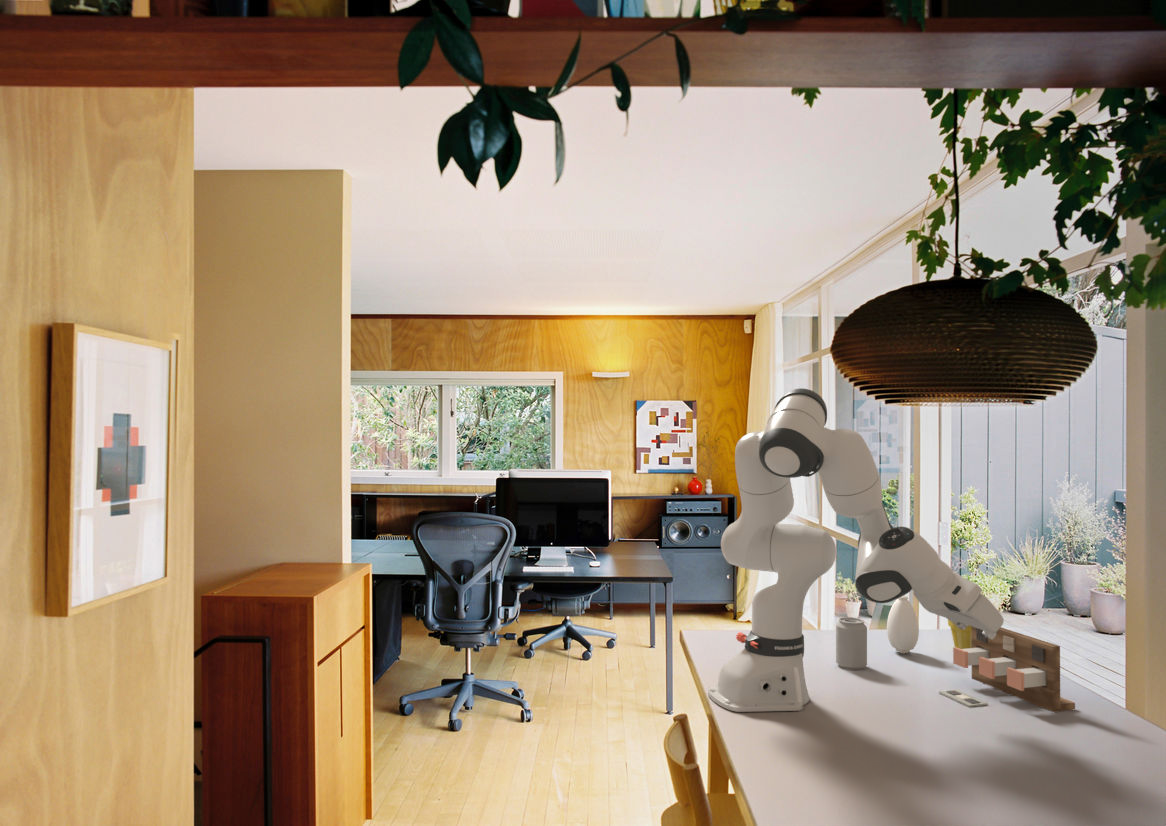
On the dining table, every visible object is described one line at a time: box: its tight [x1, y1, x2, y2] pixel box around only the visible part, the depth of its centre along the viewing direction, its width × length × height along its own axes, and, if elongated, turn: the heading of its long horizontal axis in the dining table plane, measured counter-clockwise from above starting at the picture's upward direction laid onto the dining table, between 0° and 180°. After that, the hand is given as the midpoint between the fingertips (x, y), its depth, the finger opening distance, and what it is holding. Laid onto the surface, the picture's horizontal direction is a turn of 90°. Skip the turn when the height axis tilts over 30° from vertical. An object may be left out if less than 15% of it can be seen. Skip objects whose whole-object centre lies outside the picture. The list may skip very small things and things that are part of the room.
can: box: [835, 616, 868, 671], centre depth 195 cm, size 8×8×12 cm
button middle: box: [979, 657, 1017, 679], centre depth 174 cm, size 9×4×4 cm, turn 106°
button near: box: [1007, 667, 1047, 691], centre depth 167 cm, size 9×4×4 cm, turn 106°
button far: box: [952, 646, 989, 669], centre depth 182 cm, size 9×4×4 cm, turn 106°
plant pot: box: [947, 619, 972, 649], centre depth 209 cm, size 10×10×10 cm
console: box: [971, 626, 1076, 713], centre depth 176 cm, size 6×23×14 cm, turn 16°
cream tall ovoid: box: [886, 595, 920, 655], centre depth 207 cm, size 8×8×18 cm
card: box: [938, 689, 989, 708], centre depth 171 cm, size 5×9×1 cm, turn 16°
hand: (977, 631), depth 163 cm, fingers open, 6 cm apart
